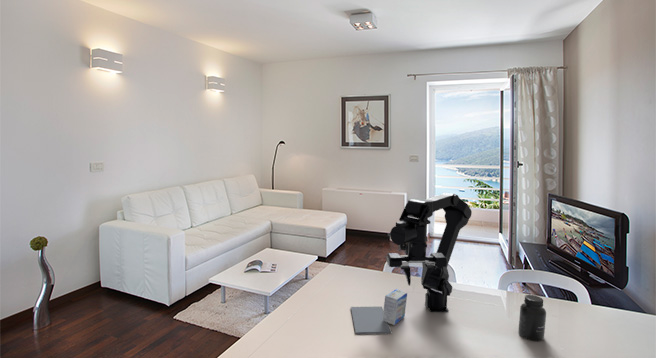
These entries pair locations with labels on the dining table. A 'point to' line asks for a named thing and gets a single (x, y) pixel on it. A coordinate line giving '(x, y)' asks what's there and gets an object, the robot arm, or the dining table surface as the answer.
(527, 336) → the supplement bottle
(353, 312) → the mat
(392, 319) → the medicine box
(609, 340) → the dining table surface
